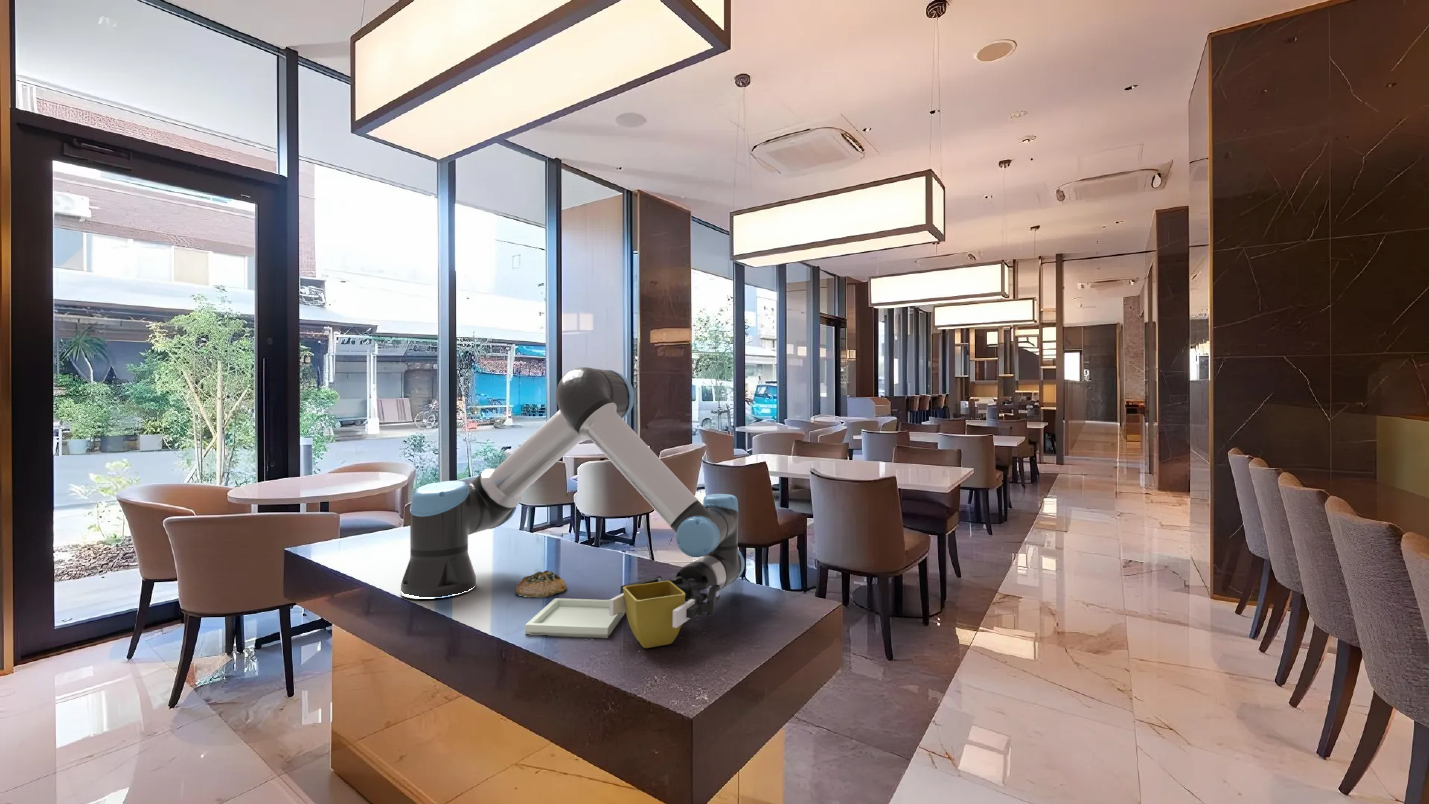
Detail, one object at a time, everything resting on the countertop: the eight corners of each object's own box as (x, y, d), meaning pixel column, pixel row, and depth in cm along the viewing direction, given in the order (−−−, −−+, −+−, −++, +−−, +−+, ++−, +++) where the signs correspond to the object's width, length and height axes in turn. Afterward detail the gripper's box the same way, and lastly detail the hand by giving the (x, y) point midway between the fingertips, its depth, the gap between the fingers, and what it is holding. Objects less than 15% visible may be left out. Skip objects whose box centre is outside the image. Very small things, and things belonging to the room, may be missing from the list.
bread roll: (536, 581, 139) (538, 560, 139) (575, 593, 135) (578, 571, 135) (502, 596, 129) (505, 574, 129) (544, 610, 125) (546, 587, 125)
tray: (525, 634, 106) (525, 624, 106) (554, 607, 121) (555, 598, 121) (607, 638, 105) (607, 627, 105) (627, 609, 120) (627, 600, 120)
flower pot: (635, 655, 97) (635, 600, 97) (621, 636, 105) (622, 585, 105) (686, 647, 100) (686, 593, 100) (669, 629, 108) (669, 580, 108)
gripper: (756, 607, 114) (706, 648, 94) (648, 590, 124) (583, 624, 104) (756, 568, 114) (707, 601, 94) (648, 554, 124) (583, 581, 104)
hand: (642, 613), depth 99 cm, fingers closed on flower pot, 12 cm apart
